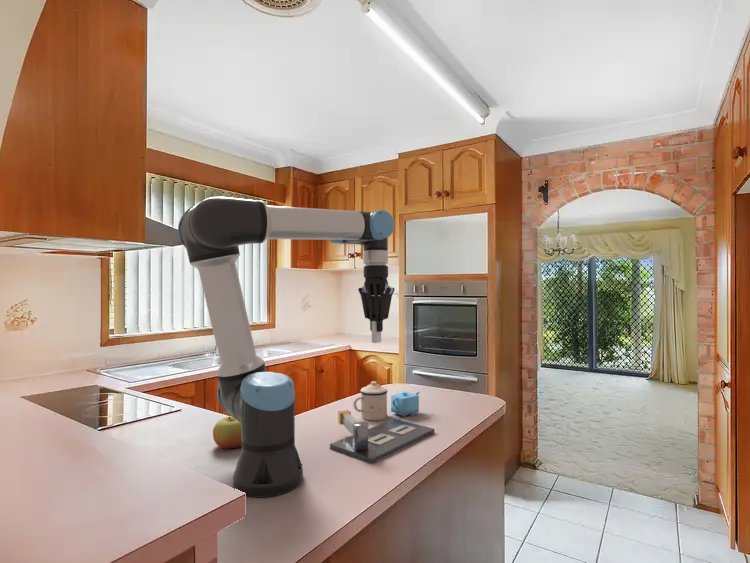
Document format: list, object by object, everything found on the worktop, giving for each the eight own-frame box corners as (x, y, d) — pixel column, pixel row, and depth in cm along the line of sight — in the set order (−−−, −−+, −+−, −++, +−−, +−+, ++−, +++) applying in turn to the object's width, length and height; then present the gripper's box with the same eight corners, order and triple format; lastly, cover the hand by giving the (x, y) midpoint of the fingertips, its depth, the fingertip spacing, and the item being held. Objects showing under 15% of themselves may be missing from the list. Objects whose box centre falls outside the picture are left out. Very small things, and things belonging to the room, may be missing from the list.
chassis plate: (371, 463, 105) (371, 456, 105) (330, 448, 115) (329, 442, 115) (434, 432, 126) (434, 427, 126) (394, 422, 136) (394, 417, 136)
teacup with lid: (379, 411, 148) (379, 377, 148) (392, 418, 140) (392, 382, 140) (348, 416, 143) (347, 381, 143) (360, 424, 135) (359, 387, 135)
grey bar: (370, 448, 110) (370, 425, 110) (355, 451, 109) (355, 427, 109) (349, 427, 127) (349, 406, 127) (336, 428, 126) (336, 408, 126)
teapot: (414, 408, 151) (414, 387, 151) (426, 412, 146) (426, 390, 146) (387, 414, 144) (387, 392, 144) (398, 419, 139) (398, 396, 139)
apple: (213, 441, 121) (212, 413, 121) (248, 437, 124) (248, 409, 124) (212, 454, 111) (212, 423, 112) (251, 449, 115) (251, 419, 115)
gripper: (400, 264, 129) (401, 342, 129) (368, 266, 138) (368, 339, 137) (384, 263, 123) (385, 345, 123) (351, 265, 132) (352, 341, 132)
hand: (376, 342), depth 130 cm, fingers closed
